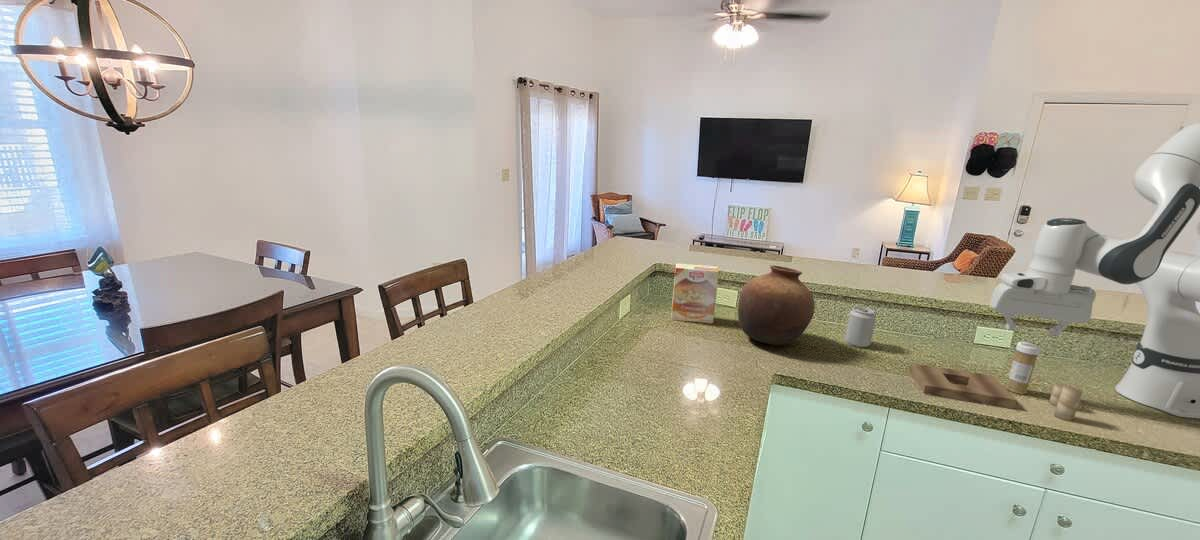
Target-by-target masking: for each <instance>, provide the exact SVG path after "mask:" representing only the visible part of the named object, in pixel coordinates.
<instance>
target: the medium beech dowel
mask: <svg viewBox="0 0 1200 540" xmlns="http://www.w3.org/2000/svg"><path fill="white" fill-rule="evenodd" d="M1082 394H1083V391H1081V390H1080V389H1078V388H1076V387H1073V386H1066V385H1064V387H1063V389H1062V392H1061V395H1060V398H1059V401H1058V404H1057V407H1055V408H1056V409H1055V411H1054V417H1056V418H1057V419H1059V420H1063V421H1066V422H1073V421H1074V419H1075V417H1076V413H1077V409H1078V408H1079V404H1080V401H1081V398H1082Z"/></svg>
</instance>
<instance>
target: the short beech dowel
mask: <svg viewBox="0 0 1200 540" xmlns="http://www.w3.org/2000/svg"><path fill="white" fill-rule="evenodd" d="M1064 386H1065V385H1064V384H1060V383H1055V384H1054V385H1053V388H1052V391H1051V395H1050V396H1049V397H1050V398H1049V401H1048V403H1049V404H1050V405H1051V406H1052V407H1055V406H1056V407H1057V404H1058V401H1059V398H1060V395H1061V392H1062V389H1063V387H1064ZM1056 407H1055V408H1056Z"/></svg>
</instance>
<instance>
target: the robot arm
mask: <svg viewBox="0 0 1200 540" xmlns="http://www.w3.org/2000/svg"><path fill="white" fill-rule="evenodd" d="M1132 185H1133V188H1134V189H1135V191H1136V192H1137V193H1138V194H1139V195H1140V196H1142V197H1143V198H1144V199H1146V200H1147V201H1149V202H1150V203H1152V204H1154V205H1156V206H1157V208H1156V210H1155V211H1154V213H1153V214H1152V216H1151V217H1150V218H1149V220H1148V221H1147V223H1146V224H1145V225H1144V227H1142V228H1141V231H1140V232H1139V233H1138V234H1137V235H1136V236H1133V237H1131V238H1126V239H1125V238H1124V239H1123V238H1119V237H1114V236H1108V235H1106V234H1101V233H1099V232H1097V231H1095V230H1093V229H1092V228H1090V227H1089V226H1088V223H1087V222H1086V220H1083V219H1079V218H1071V217H1068V218H1066V217H1065V218H1064V217H1061V218H1053V219H1049V220H1047V221H1046V222H1045V223H1044V224H1043V225H1042V227H1041V228H1040V230H1039V232H1038V235H1037V237H1036V240H1035V243H1034V245H1033V249H1032V254H1033V255H1032V259H1031V261H1030V263H1028V265H1027V268H1026V269H1027V270H1022V271H1021V270H1020V271H1014V272H1007V273H1003V274H1002V275H1001V276H1000V277H1001V278H1000V280H1001V282H1000V283H999V284H997V285H996V287H995V288H994V290H993V292H992V295H991V297H990V301H989V306H990V308H991V309H992V310H993V311H994V312H996V313H1003V316H1004V319H1005V322H1006V324H1005V330H1008V331H1016V327H1017V324H1016V323H1015V322H1014V321H1013V320H1012V319H1014V317H1015V315H1018V316H1025V317H1026V316H1027V317H1031V318H1033V317H1034V318H1040V319H1048V320H1054V321H1057V325H1056V326H1054V327H1050V328H1049V331H1048V336H1049V335H1050V336H1051V337H1055V338H1056V337H1057V338H1059V337H1060V335H1061V332H1062V331H1064V330H1065V329H1066V328H1067V327H1069V325H1070V323H1076V324H1086V323H1089V321H1090V320H1091V316H1092V312H1093V304H1094V302H1095V299H1096V297H1097V291H1095V290H1094V289H1092V288H1091V287H1090V286H1084V285H1083V286H1081V285H1077V284H1073V281H1074V277H1075V275H1076V270H1078V271H1080V272H1081V271H1082V272H1084V273H1087V274H1092V275H1095V276H1098V277H1102V278H1105V279H1107V280H1110V281H1113V282H1116V283H1118V284H1121V285H1133V284H1136V285H1137V286H1138V287H1139V289H1140V290H1141V292H1142V294H1143V295H1144V298H1145V301H1146V306H1147V320H1146V323H1145V327H1144V331H1143V334H1142V337H1141V339H1140V340H1141V341H1138V343H1137V345H1136V347H1135V349H1134V351H1133V355H1132V359H1131V364H1130V366H1129V368H1128V370H1127V371H1126V373H1125V374H1124V376H1123V377H1122V378H1121V379H1120V381H1119V382H1118V383H1117V384H1116V385H1115V387H1114V389H1115V391H1116V392H1117V393H1118V394H1120V395H1122V396H1123V397H1125V398H1128V400H1129V399H1130V400H1132V401H1134V402H1136V403H1138V404H1139V403H1140V404H1142V405H1144V406H1148V407H1152V408H1155V409H1158V410H1160V411H1164V412H1166V413H1168V414H1170V415H1173V416H1175V417H1181V418H1187V419H1188V418H1189V419H1200V311H1199V310H1198V308H1197V305H1196V304H1197V303H1200V255H1196V254H1191V253H1185V252H1180V251H1173V250H1172V251H1171V250H1170V251H1168V250H1169V249H1170V248H1171V246H1172V245H1173V243H1174V242H1175V240H1176V239H1178V237H1179V235H1180V234H1181V232H1182V231H1183V230H1184V229H1185V227H1186V226H1187V224H1188V223H1189V222H1190V220H1191V219H1192V217H1193V216H1194V214H1195V213H1196V212H1197V210H1198V209H1199V207H1200V122H1197V123H1192V124H1189V125H1186V126H1185V127H1183V128H1182V129H1180V130H1178V131H1177V132H1176V133H1174V134H1173V135H1172V136H1171V137H1169V138H1168V139H1166V140H1165V141H1164V142H1163V143H1162V144H1161V145H1159V146H1158V147H1157V148H1156V149H1155V150H1153V152H1152V153H1151V154H1150V155H1149V156H1148V157H1147V158H1146V159H1145V160H1143V162H1142V163H1141V164H1140V165H1139V166H1138V167H1137V169H1136V170H1135V172H1134V173H1133V175H1132ZM1195 227H1196V228H1195V230H1196V233H1197V234H1198V236H1200V219H1199V220H1198V221H1197V223H1196V226H1195ZM1196 302H1197V303H1196Z"/></svg>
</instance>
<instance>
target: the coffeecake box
mask: <svg viewBox="0 0 1200 540" xmlns="http://www.w3.org/2000/svg"><path fill="white" fill-rule="evenodd" d="M719 271H720V270H719V266H714V265H705V264H703V265H700V264H693V263H691V264H689V263H678V262H677V263H675V269H674V279H673V281H674V282H673V292H672V303H671V315H670V318H671V319H670V320H671V321H681V322H682V321H684V322H691V323H693V322H694V323H703V324H714V318H715V309H716V300H717V290H718V283H719V274H720V272H719Z"/></svg>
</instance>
